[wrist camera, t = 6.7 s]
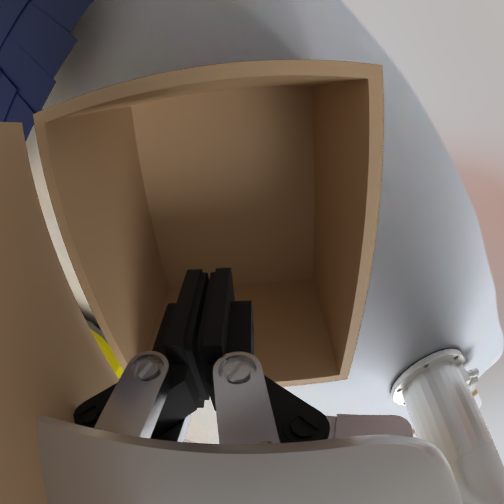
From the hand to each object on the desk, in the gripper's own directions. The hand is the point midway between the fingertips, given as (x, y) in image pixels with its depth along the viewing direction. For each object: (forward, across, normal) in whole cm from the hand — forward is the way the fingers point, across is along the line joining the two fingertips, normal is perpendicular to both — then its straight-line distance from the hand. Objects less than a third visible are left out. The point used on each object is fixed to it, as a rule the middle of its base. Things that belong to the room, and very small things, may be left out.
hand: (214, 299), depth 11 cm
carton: (+12, 0, 0) cm, 13 cm away
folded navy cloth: (+13, +25, -16) cm, 32 cm away
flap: (-5, +4, 0) cm, 6 cm away
